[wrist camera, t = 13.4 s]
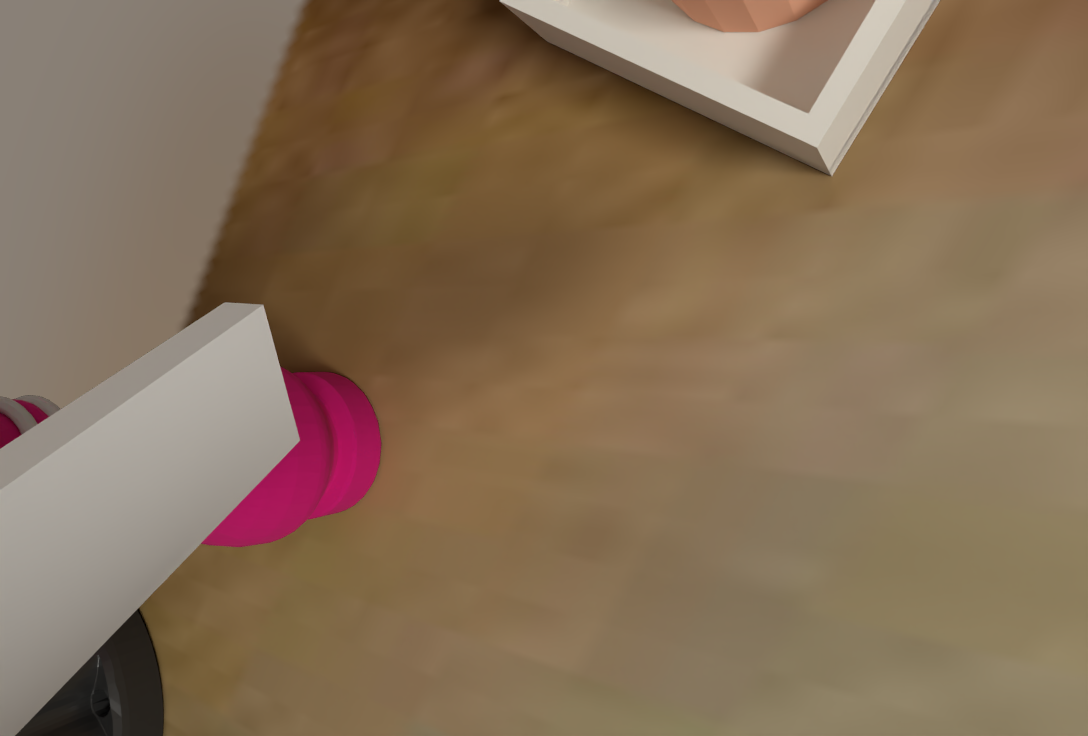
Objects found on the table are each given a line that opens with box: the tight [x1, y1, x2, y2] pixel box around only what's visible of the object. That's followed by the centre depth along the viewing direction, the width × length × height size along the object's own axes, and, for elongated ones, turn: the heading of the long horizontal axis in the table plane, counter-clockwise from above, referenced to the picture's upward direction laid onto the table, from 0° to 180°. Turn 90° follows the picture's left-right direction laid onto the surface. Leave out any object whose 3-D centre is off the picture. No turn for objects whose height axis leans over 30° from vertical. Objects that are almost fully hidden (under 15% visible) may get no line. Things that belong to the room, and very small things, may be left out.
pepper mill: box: [0, 367, 381, 547], centre depth 24 cm, size 7×7×20 cm
